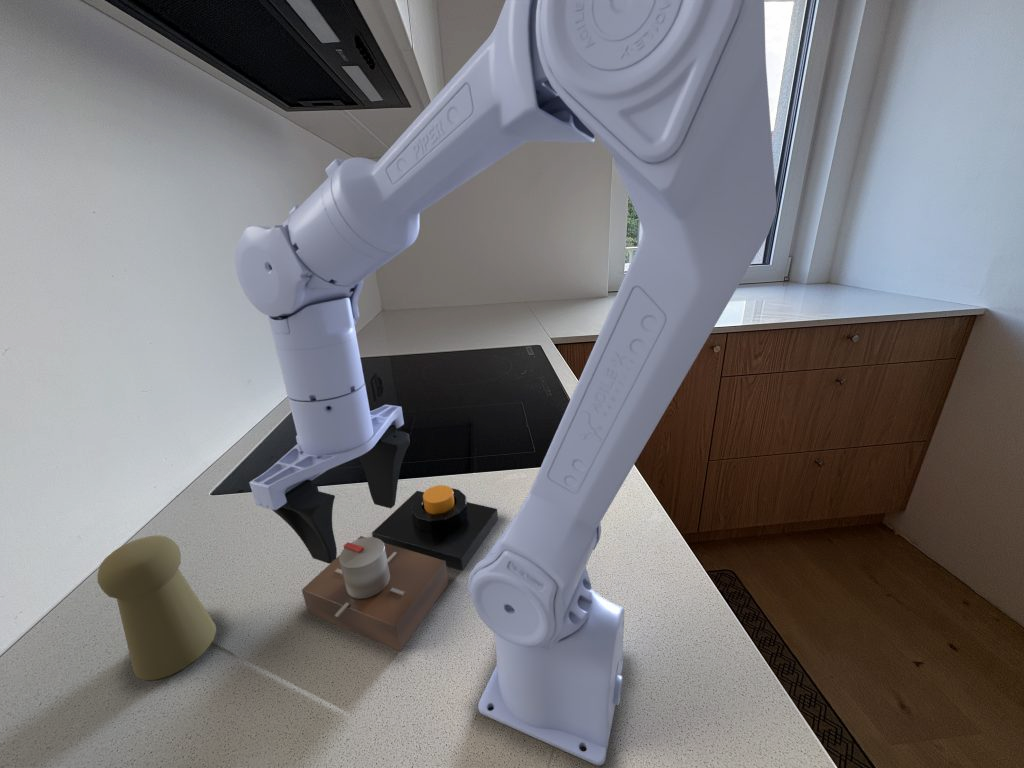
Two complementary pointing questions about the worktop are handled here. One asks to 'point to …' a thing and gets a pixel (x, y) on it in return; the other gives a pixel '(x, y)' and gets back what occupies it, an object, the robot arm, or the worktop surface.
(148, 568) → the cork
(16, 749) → the worktop surface
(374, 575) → the dimmer knob
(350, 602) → the dimmer panel
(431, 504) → the power button
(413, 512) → the lamp switch
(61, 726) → the worktop surface
